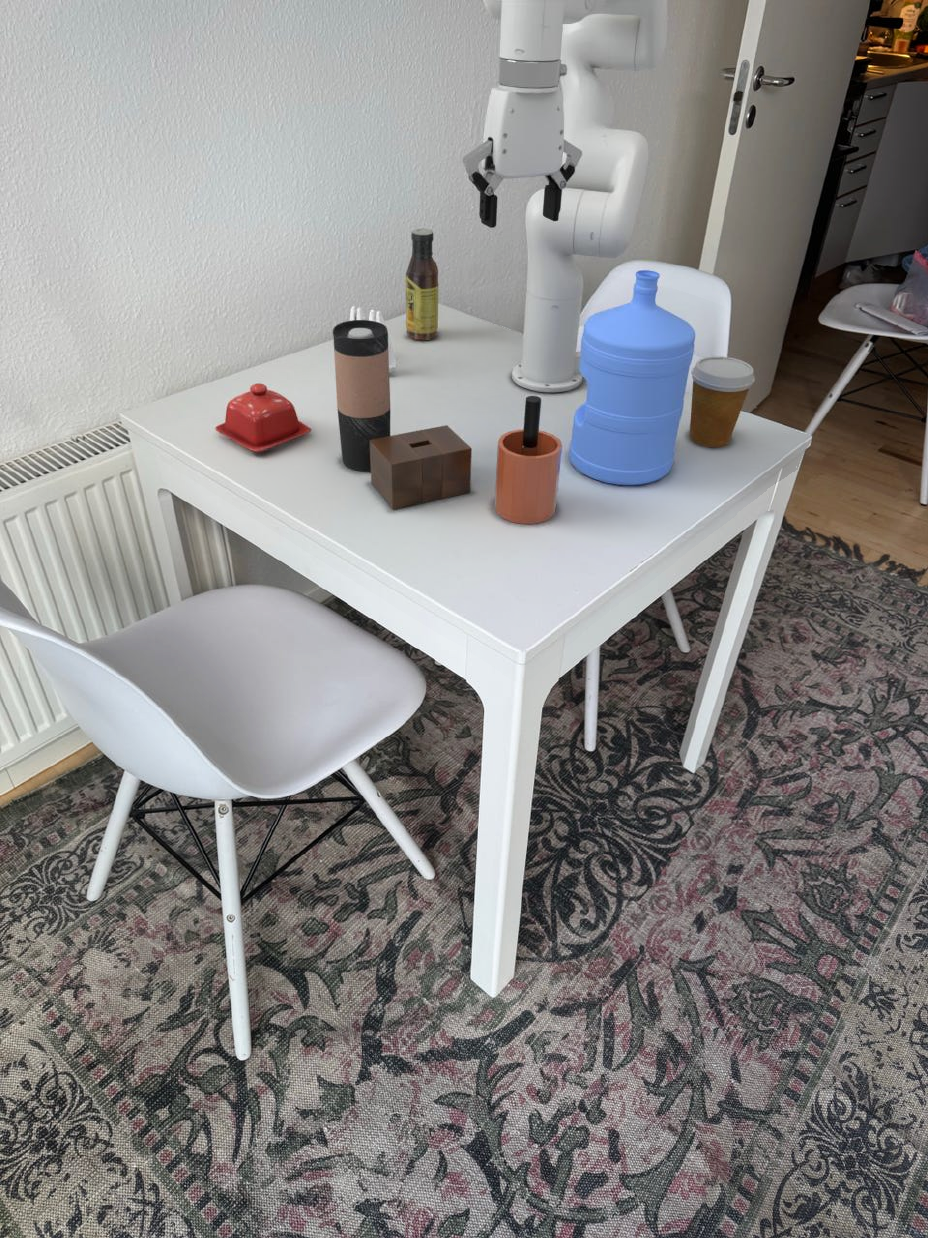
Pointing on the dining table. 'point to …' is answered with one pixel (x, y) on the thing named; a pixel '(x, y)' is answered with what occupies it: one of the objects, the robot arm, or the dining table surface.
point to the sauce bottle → (422, 288)
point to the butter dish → (261, 419)
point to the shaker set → (381, 320)
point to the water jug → (632, 389)
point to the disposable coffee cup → (718, 398)
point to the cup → (527, 478)
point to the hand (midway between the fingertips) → (519, 221)
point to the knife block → (420, 466)
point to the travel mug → (361, 388)
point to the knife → (531, 425)
